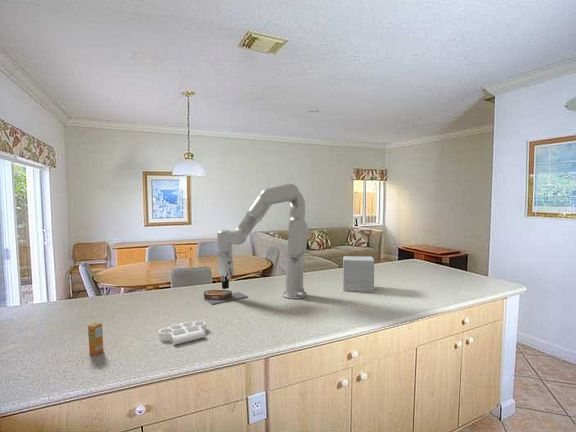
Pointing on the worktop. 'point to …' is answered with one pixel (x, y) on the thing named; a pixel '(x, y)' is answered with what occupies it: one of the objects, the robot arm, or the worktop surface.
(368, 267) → the supplement box
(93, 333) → the supplement box
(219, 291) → the tin
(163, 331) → the white egg tray
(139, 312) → the worktop surface
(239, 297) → the gray mat
